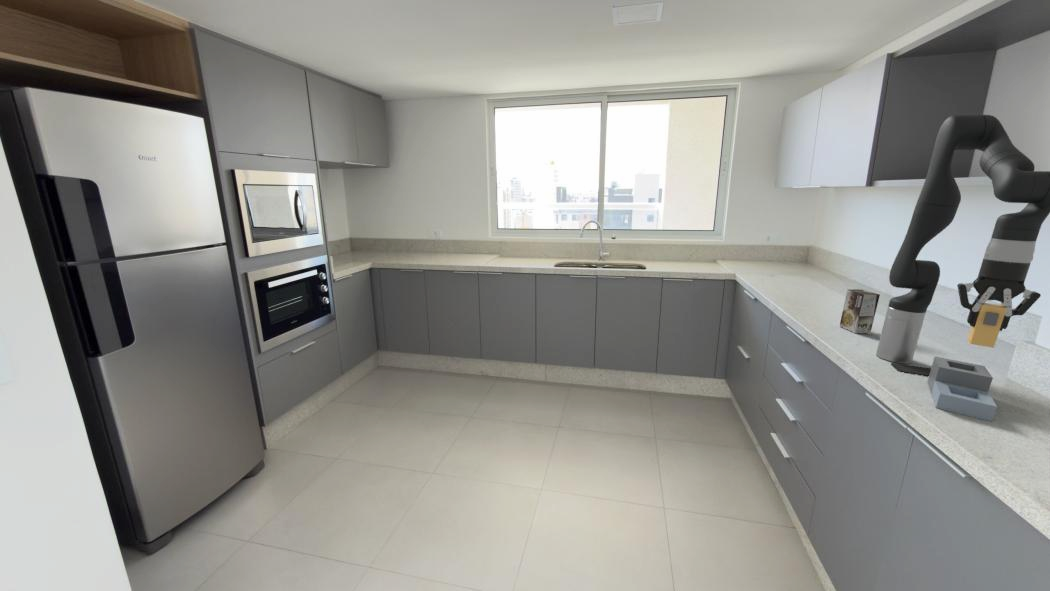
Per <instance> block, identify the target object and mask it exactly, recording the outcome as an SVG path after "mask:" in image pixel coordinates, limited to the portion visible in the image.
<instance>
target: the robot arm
mask: <svg viewBox="0 0 1050 591" xmlns="http://www.w3.org/2000/svg"><path fill="white" fill-rule="evenodd" d="M934 143H935V144H934V146H933V151H932V155H931V158H930V163H929V166H928V170H927V174H926V177H925V180H924V183H923V185H922V189H921V191H920V194H919V197H918V198H917V201H916V204H915V206H914V209H913V213H912V215H911V216H912V217H911V220H910V222H909V226H908V229H907V232H906V234H905V236H904V239H903V241H902V244H901V246H900V247H899V250H898V252H897V254H896V257H895V258H894V261H893V263H892V265H891V267H890V270H889V277H888V279H889V280H888V281H889V284H890V285H891V286H892V287H894V288H898V289H899V288H900V289H901V288H902V289H910V291H909V292H907V293H905V294H902V295H897V296H894V297H892V298H890V300H889V301H888V306H887V309H886V314H885V318H884V323H883V325H882V329H881V333H880V337H879V341H878V344H877V349H876V353H875V355H876V356H877V357H878V358H880V359H883V360H886V361H889V362H891V363H898V364H912V363H913V360H914V357H915V356H914V355H915V353H916V349H917V345H918V341H919V339H920V334H921V330H922V327H923V324H924V320H925V317H926V313H927V310H928V308H929V306H930V305H931V303H932V301H933V297H934V294H935V292H936V288H937V286H938V284H939V280H940V277H941V268H940V266H939V264H938V262H936V261H932V260H922V259H921V260H920V259H917V258H918V256H919V254H920V252H921V251H922V249H923V248H925V245H927V244H928V243H929V242H930V241H931V240H933V239H934V238H935V237H937V236H938V235H939V234H941V233H942V232H943V231H944V230H945V229H947V227H948V226H950V225H951V223H952V222H953V221H954V219H955V216H956V214H957V211H958V209H959V206H960V203H961V201H962V196H961V191H960V188H959V186H958V184H957V181H956V179H955V177H954V176H955V175H954V174H953V170H952V164H953V158H954V154H955V151H974V150H979V151H981V152H983V153H981V156H980V158H979V167H980V169H981V171H982V172H983V173H984V174H985V175H986V176H987V177H988V178H989V179H990V180H991V184H992V189H993V194H994V197H995V198H996V199H998V200H1000V201H1001V202H1004V203H1009V204H1010V203H1011V204H1012V203H1013V204H1026V206H1025V207H1024V208H1023V209H1021V210H1020V211H1017V212H1011V213H1004V214H1001V215H1000V216H998V217H997V219H996V221H995V224H994V228H993V230H992V234H991V237H990V239H989V243H988V244H987V246H986V249H985V252H984V255H983V258H982V262H981V265H980V268H979V270H978V275H977V278H976V279H974V280H973V282H968V283H962V282H961V283H958V284H957V286H956V287H957V290H958V291H957V292H958V296H959V297H958V298H959V301H960V306H962V307H963V308H964V309H966V310H969V312H968V317H967V318H966V321H967V322H966V323H967V324H969V326H970V327H971V326H973V327H975V324H976V321H977V318H978V314H979V312H978V311H979V309H980V308H981V305H983V304H985V303H987V301H996V302H1000V305H1002V306H1003V307H1005V308H1007V309H1006V312H1005V315H1004V318H1003V321H1002V324H1001V327H1000V330H999V332H1002V331H1003V330H1006V329H1007V328H1008V325H1009V323H1010V321H1011V320H1010V319H1011V318H1012V317H1014V316H1024V315H1025V314H1026V313H1027V311H1028V310H1029V309H1030V308H1032V306H1033V305H1034V304H1035V303H1036V302H1037V301H1038V300H1039V299H1040V298H1041V297H1042V296H1041V293H1039V292H1037V291H1034V290H1033V291H1032V290H1030V289H1027V288H1026V286H1025V282H1026V278H1027V275H1028V272H1029V269H1030V266H1031V263H1032V261H1033V259H1034V254H1035V251H1036V250H1035V249H1036V245H1037V244H1036V243H1037V239H1038V237H1039V233H1040V230H1041V228H1042V224H1043V223H1044V222H1045V221H1046V219H1047V218H1048V216H1049V215H1050V171H1049V170H1048V171H1040V170H1038V171H1037V170H1035V164H1034V162H1033V161H1032V160H1031V159H1030V158H1029V157H1028V156H1027V155H1025V154H1024V153H1023V151H1021V150H1019V149H1018V148H1017V147H1016V146H1015V145H1014V144H1013V142H1012V140H1011V138H1010V136H1009V135H1008V133H1007V131H1006V130H1005V128H1004V126H1003V125H1002V123H1001V121H1000V120H999V119H998V118H997V117H995V116H994V115H991V114H955V115H951V116H949V117H947V118H946V119H945V120H944V121H943V123H942V124H941V126H940V128H939V130H938V133H937V136H936V139H935V142H934ZM972 288H974V289H975V291H976V292H977V293H978V295H977V296H976V298H975V299H974V301H973V303H970V301H969V300H970V299H969V295H968V293H970V292H971V290H972ZM1021 294H1022V301H1021V302H1019V303H1018V305H1017V306H1016V307H1015V308H1014V309H1012V307H1013V302H1012V300H1013V299H1014V298H1016V297H1017V296H1019V295H1021Z"/></svg>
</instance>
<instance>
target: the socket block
mask: <svg viewBox="0 0 1050 591" xmlns="http://www.w3.org/2000/svg"><path fill="white" fill-rule="evenodd" d="M933 357H934V358H933V360H932V365H931V367H930V368H931V371H930V374H929V377H928V378H927V385H928V388H929V391H930V394H931V398H932V400H933V403H934V406H935V408H937V409H940V410H944V411H949V412H951V413H956V414H960V415H964V416H968V417H973V418H977V419H980V420H985V421H989V422H993V420H994V417H995V414H996V411H997V408H998V406H997V404H996V402H995V400H994V399H993V397H992V396H991V394H990V393H989V391H990V388H991V385H992V381H993V379H994V378H993V375H991V373H990V372H989V370H988V369H987V367H986V366H985V365H981V364H976V363H971V362H967V361H961V360H955V359H951V358H944V357H940V356H939V357H938V356H933Z"/></svg>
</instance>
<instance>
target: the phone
mask: <svg viewBox="0 0 1050 591" xmlns="http://www.w3.org/2000/svg"><path fill="white" fill-rule="evenodd" d="M890 365H891V367H893V368H894V369H895V371H897V372H899V373H902V372H904V374H909V373H910V374H909V375H915V374H918V375H917V376H921V375H923V377H928V376H929V374H930V371H931V367H925V366H919V365H911V364H906V363H897V362H891V363H890Z"/></svg>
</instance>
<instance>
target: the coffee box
mask: <svg viewBox="0 0 1050 591" xmlns="http://www.w3.org/2000/svg"><path fill="white" fill-rule="evenodd" d="M845 293H846V294H845V298H844V302H843V303H844V304H843V308H842V313H841V318H840V322H839V326H841V327H843V328H842V329H844V328H845V329H844V330H846V329H848V330H847V331H849V330H850V331H849V332H851V331H852V332H851V333H853V332H854V333H853V334H857V333H870V334H871V333H872V328H873V326H874V325H873V324H874V320H875V317H876V316H875V315H876V312H877V308H878V304H879V300H880V297H881V295H880V294H879V293H876V292H873V291H868V290H866V289H862V288H861V289H858V288H857V289H855V288H854V289H851V288H850V289H848V288H847V289H846V292H845ZM841 327H840V328H841Z"/></svg>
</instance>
